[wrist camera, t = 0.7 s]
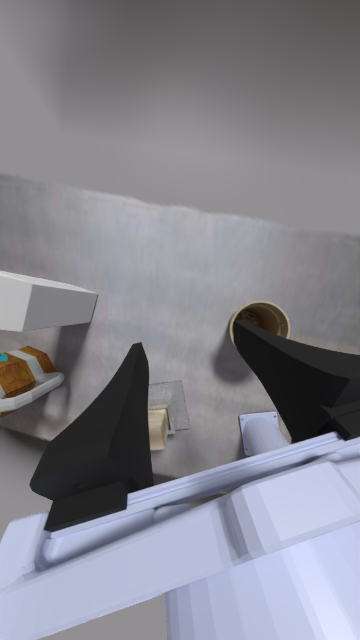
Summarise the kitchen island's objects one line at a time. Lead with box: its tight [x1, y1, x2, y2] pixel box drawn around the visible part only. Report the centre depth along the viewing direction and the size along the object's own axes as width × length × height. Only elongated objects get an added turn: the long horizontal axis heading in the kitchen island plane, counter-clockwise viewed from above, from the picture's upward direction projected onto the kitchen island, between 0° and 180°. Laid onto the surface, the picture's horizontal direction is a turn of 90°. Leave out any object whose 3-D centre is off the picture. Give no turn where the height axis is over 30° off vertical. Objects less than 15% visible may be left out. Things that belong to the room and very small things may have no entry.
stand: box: [148, 380, 189, 434], centre depth 35 cm, size 11×11×5 cm
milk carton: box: [0, 271, 98, 332], centre depth 28 cm, size 7×7×19 cm
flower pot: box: [229, 301, 290, 347], centre depth 30 cm, size 9×9×9 cm
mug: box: [0, 346, 64, 418], centre depth 32 cm, size 20×14×15 cm
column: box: [148, 408, 170, 450], centre depth 32 cm, size 4×4×9 cm
